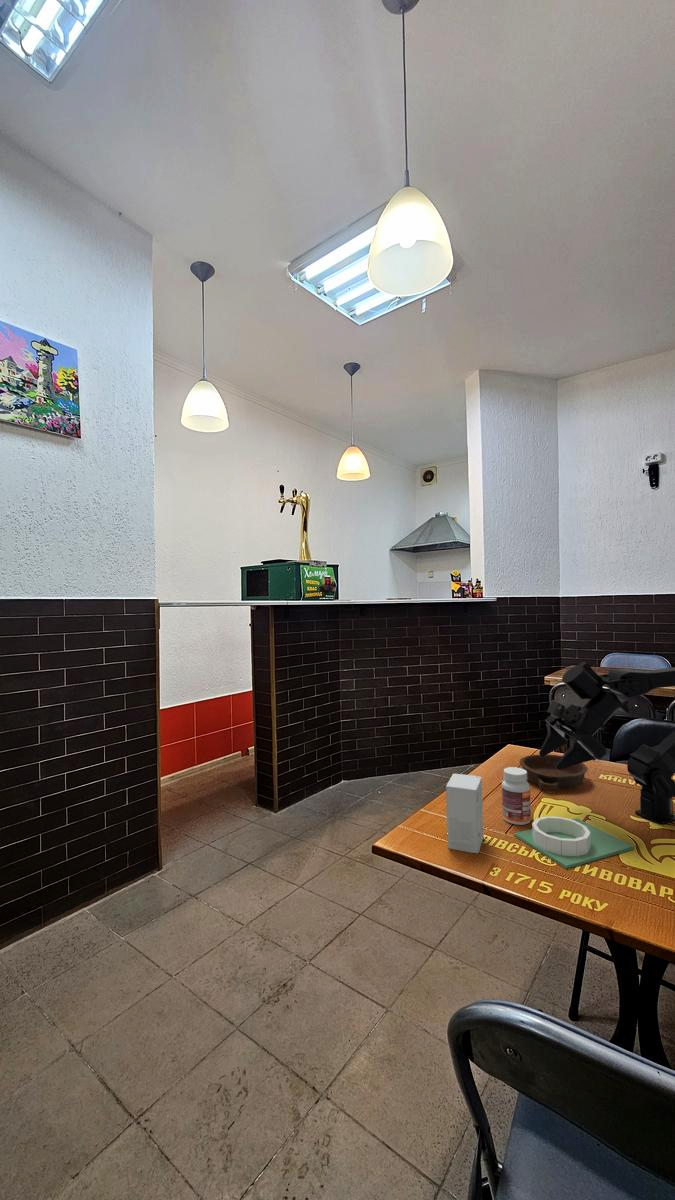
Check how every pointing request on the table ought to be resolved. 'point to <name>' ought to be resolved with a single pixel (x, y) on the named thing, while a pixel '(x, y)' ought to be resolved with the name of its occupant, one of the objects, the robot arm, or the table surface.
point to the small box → (464, 813)
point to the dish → (552, 772)
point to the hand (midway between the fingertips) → (548, 761)
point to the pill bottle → (516, 796)
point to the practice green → (571, 841)
